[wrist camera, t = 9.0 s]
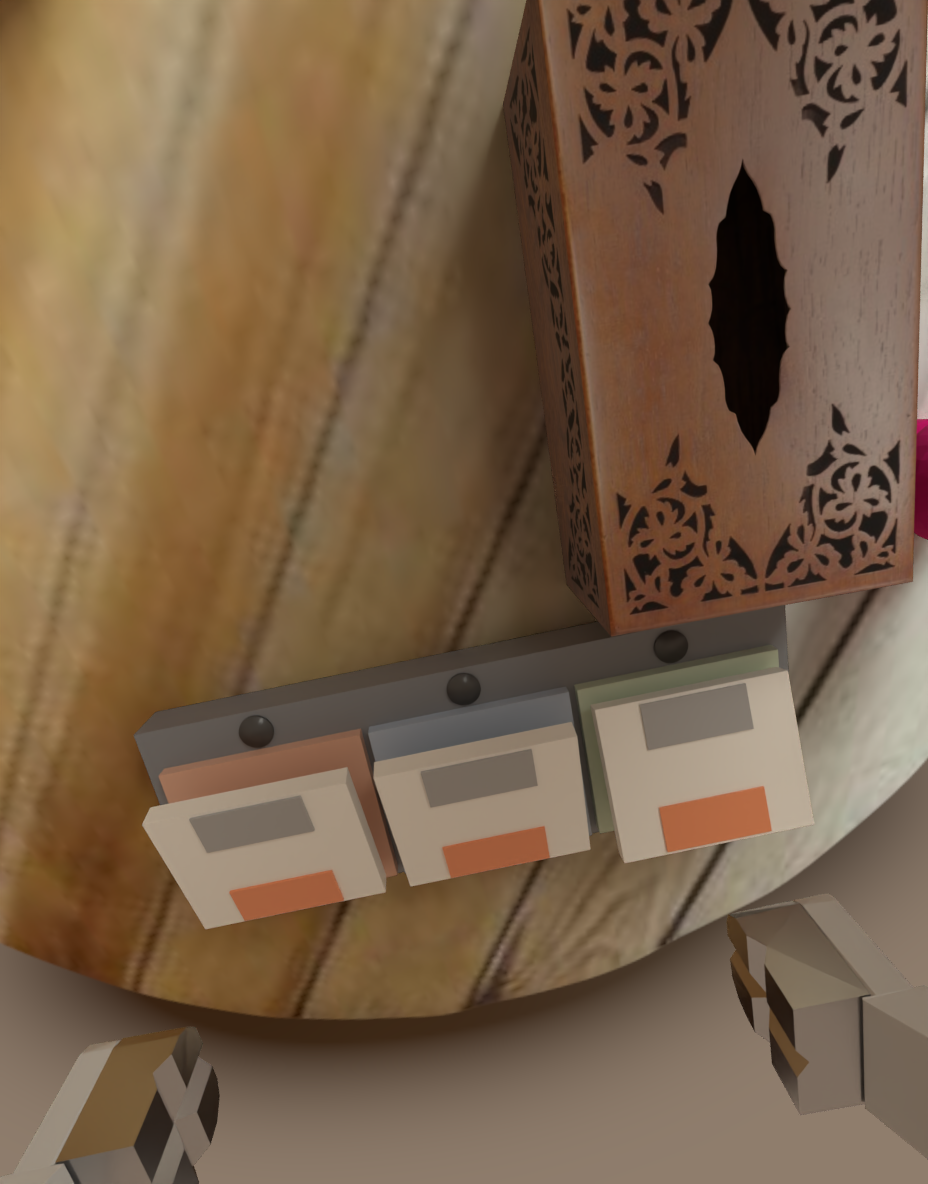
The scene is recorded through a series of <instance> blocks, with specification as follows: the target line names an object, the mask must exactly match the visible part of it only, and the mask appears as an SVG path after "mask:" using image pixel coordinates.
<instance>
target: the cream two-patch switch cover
mask: <svg viewBox="0 0 928 1184" xmlns="http://www.w3.org/2000/svg"><path fill="white" fill-rule="evenodd" d="M590 707H591V712H592V717H593V722H594V727H595V732H596V738H597V743H598V748H599V753H600V758H601V763H602V768H603V774H604V779H605V784H606V789H607V794H608V799H609V805H610V810H611V815H612V820H613V825H614V830H615V836H616V841H617V846H618V851H619V854H620V856H621V858H622V860H623V862H624V863H629V862H634V861H639V860H644V859H648V858H653V857H658V856H663V855H668V854H673V853H678V852H683V851H688V850H692V849H697V848H702V847H707V846H712V845H717V844H722V843H727V842H731V841H736V840H741V839H746V838H751V837H756V836H761V835H766V834H770V833H775V832H780V831H785V830H790V829H795V828H800V827H805V826H809V825H814V819H813V813H812V807H811V801H810V796H809V790H808V784H807V778H806V772H805V767H804V761H803V755H802V749H801V744H800V738H799V732H798V726H797V720H796V715H795V709H794V703H793V697H792V692H791V686H790V680H789V674H788V670H785V669H782V668H779V667H772V668H767V669H763V670H758V671H753V672H748V673H743V674H738V675H733V676H728V677H724V678H719V679H714V680H709V681H704V682H699V683H694V684H689V685H684V686H680V687H675V688H670V689H665V690H660V691H655V692H650V693H645V694H640V695H636V696H631V697H626V698H621V699H616V700H611V701H606V702H601V703H597V704H592V705H590Z"/></svg>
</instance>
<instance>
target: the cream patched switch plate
mask: <svg viewBox="0 0 928 1184" xmlns="http://www.w3.org/2000/svg"><path fill="white" fill-rule="evenodd" d="M142 826H143V827H144V829H145V831H146V832H147V834H148V835H149V837H150V839H151V840H152V842H153V844H154V845H155V847H156V849H157V850H158V852H159V854H160V855H161V857H162V859H163V860H164V862H165V864H166V865H167V867H168V868H169V870H170V872H171V873H172V875H173V877H174V878H175V880H176V882H177V883H178V885H179V887H180V888H181V890H182V892H183V893H184V895H185V896H186V898H187V900H188V901H189V903H190V905H191V906H192V908H193V910H194V911H195V913H196V915H197V916H198V918H199V920H200V921H201V923H202V925H203V926H204V928H205V929H209V928H214V927H219V926H224V925H229V924H234V923H239V922H244V921H248V920H253V919H258V918H263V917H268V916H273V915H278V914H283V913H287V912H292V911H297V910H302V909H307V908H312V907H317V906H322V905H326V904H331V903H336V902H341V901H346V900H351V899H356V898H361V897H365V896H370V895H375V894H380V893H385V892H386V873H385V870H384V867H383V864H382V862H381V859H380V856H379V853H378V851H377V848H376V845H375V842H374V839H373V837H372V834H371V831H370V828H369V826H368V823H367V820H366V817H365V814H364V812H363V809H362V806H361V803H360V801H359V798H358V795H357V792H356V789H355V787H354V784H353V781H352V778H351V776H350V773H349V770H348V767H345V768H341V769H336V770H331V771H326V772H321V773H316V774H311V775H306V776H302V777H297V778H292V779H287V780H282V781H277V782H272V783H267V784H262V785H258V786H253V787H248V788H243V789H238V790H233V791H228V792H223V793H218V794H214V795H209V796H204V797H199V798H194V799H189V800H184V801H179V802H175V803H170V804H165V805H160V806H155V807H150V809H149V811H148V813H147V815H146V817H145V820H144V822H143V824H142Z"/></svg>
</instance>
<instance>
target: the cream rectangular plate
mask: <svg viewBox="0 0 928 1184" xmlns="http://www.w3.org/2000/svg"><path fill="white" fill-rule="evenodd" d="M374 781H375V784H376V787H377V790H378V793H379V796H380V799H381V802H382V805H383V808H384V810H385V813H386V816H387V819H388V822H389V825H390V828H391V831H392V834H393V837H394V840H395V843H396V846H397V849H398V851H399V854H400V857H401V860H402V863H403V866H404V869H405V872H406V875H407V878H408V881H409V884H410V887H411V886H416V885H421V884H426V883H430V882H435V881H440V880H445V879H450V878H455V877H460V876H465V875H469V874H474V873H479V872H484V871H489V870H494V869H499V868H504V867H509V866H513V865H518V864H523V863H528V862H533V861H538V860H543V859H548V858H552V857H557V856H562V855H567V854H572V853H577V852H582V851H587V850H591V849H590V840H589V832H588V823H587V815H586V806H585V798H584V789H583V781H582V772H581V764H580V756H579V747H578V739H577V735H576V732H575V729H574V727H573V724H572V722H568V723H563V724H558V725H553V726H548V727H544V728H539V729H534V730H529V731H524V732H519V733H514V734H509V735H504V736H500V737H495V738H490V739H485V740H480V741H475V742H470V743H465V744H460V745H456V746H451V747H446V748H441V749H436V750H431V751H426V752H421V753H417V754H412V755H407V756H402V757H397V758H392V759H387V760H382V761H377V762H374Z"/></svg>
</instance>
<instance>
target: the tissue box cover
mask: <svg viewBox="0 0 928 1184" xmlns="http://www.w3.org/2000/svg"><path fill="white" fill-rule="evenodd" d="M927 14H928V0H527V1H526V5H525V9H524V14H523V18H522V23H521V27H520V32H519V36H518V40H517V45H516V49H515V54H514V58H513V63H512V67H511V71H510V76H509V80H508V85H507V89H506V94H505V98H504V103H503V107H504V115H505V122H506V130H507V137H508V145H509V152H510V160H511V167H512V175H513V183H514V190H515V198H516V205H517V213H518V220H519V228H520V236H521V243H522V251H523V258H524V266H525V273H526V281H527V288H528V296H529V304H530V311H531V319H532V326H533V334H534V341H535V349H536V356H537V364H538V372H539V379H540V387H541V394H542V402H543V409H544V417H545V424H546V432H547V440H548V447H549V455H550V462H551V470H552V477H553V485H554V492H555V500H556V508H557V515H558V523H559V530H560V538H561V545H562V553H563V561H564V568H565V576H566V583H567V586H568V587H569V588H570V589H571V590H572V591H573V593H574V594H575V595H576V596H577V597H578V598H579V600H580V601H581V602H582V603H583V604H584V605H585V607H586V608H587V609H588V610H589V611H590V612H591V614H592V615H593V616H594V617H595V618H596V619H597V620H598V622H599V623H600V624H601V625H602V626H603V627H604V629H605V630H606V631H607V632H608V633H609V634H610V636H611V637H612V636H617V635H622V634H628V633H633V632H639V631H644V630H650V629H655V628H661V627H666V626H672V625H677V624H683V623H688V622H694V621H699V620H705V619H710V618H716V617H721V616H727V615H732V614H738V613H743V612H749V611H754V610H760V609H765V608H771V607H776V606H782V605H787V604H792V603H798V602H803V601H809V600H814V599H820V598H825V597H831V596H836V595H842V594H847V593H853V592H858V591H864V590H869V589H875V588H880V587H886V586H891V585H897V584H902V583H908V582H913V549H914V511H915V473H916V435H917V396H918V358H919V320H920V282H921V243H922V205H923V167H924V129H925V90H926V52H927Z"/></svg>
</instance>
